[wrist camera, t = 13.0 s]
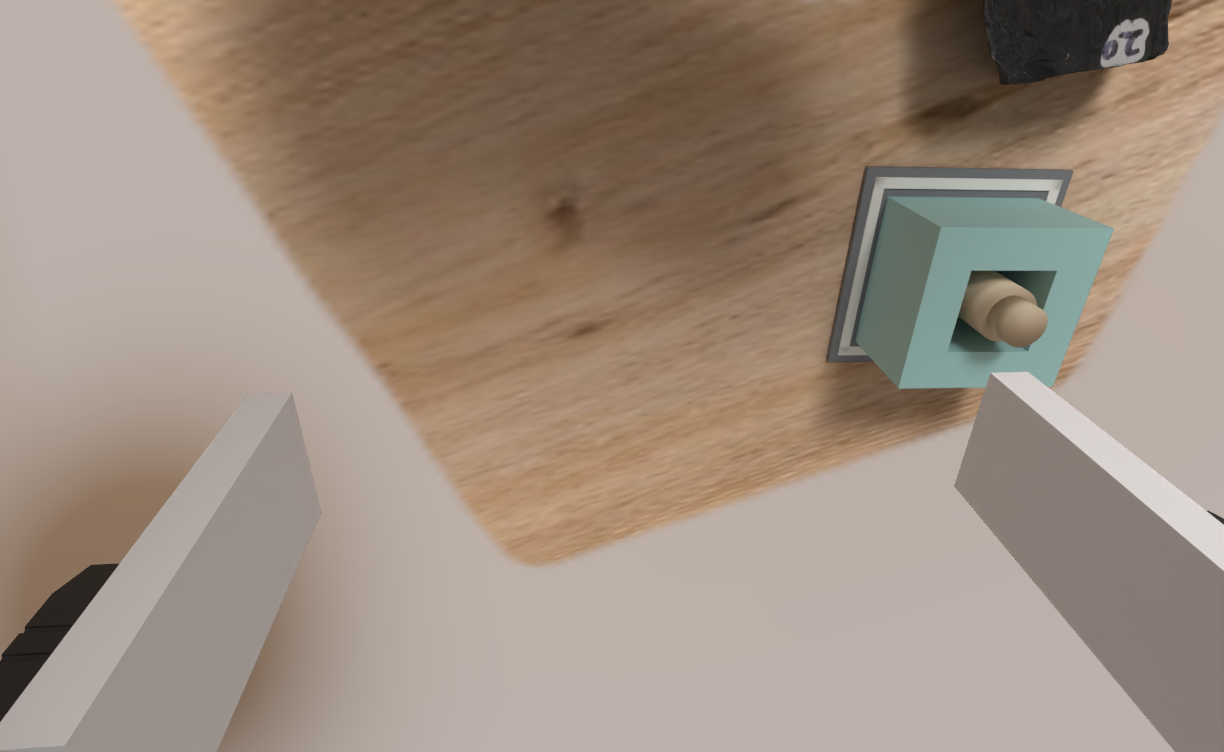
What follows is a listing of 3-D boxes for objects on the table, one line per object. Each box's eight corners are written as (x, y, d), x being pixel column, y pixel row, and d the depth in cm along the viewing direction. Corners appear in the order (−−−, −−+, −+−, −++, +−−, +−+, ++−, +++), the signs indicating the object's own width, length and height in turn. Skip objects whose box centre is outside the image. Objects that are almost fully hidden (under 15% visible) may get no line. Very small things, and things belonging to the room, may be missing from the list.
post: (926, 247, 40) (1006, 299, 33) (974, 247, 40) (1064, 299, 33) (913, 295, 42) (988, 354, 35) (960, 295, 42) (1044, 354, 35)
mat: (866, 166, 38) (869, 167, 38) (1069, 169, 39) (1074, 171, 39) (826, 359, 44) (829, 362, 43) (1005, 358, 45) (1008, 360, 44)
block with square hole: (855, 341, 43) (898, 388, 38) (887, 196, 39) (941, 227, 33) (991, 339, 44) (1052, 386, 38) (1038, 198, 39) (1113, 228, 34)
